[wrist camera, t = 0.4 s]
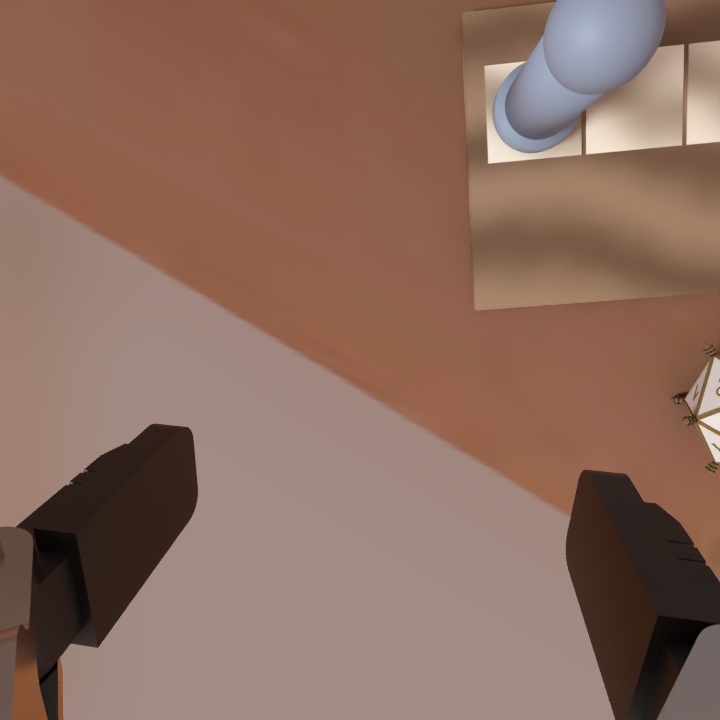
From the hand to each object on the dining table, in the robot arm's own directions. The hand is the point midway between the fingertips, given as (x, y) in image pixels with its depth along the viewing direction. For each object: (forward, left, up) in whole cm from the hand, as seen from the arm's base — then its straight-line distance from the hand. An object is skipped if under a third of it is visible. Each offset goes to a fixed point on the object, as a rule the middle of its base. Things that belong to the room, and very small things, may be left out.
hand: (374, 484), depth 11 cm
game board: (-10, +19, -26) cm, 34 cm away
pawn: (-13, +10, -24) cm, 30 cm away
